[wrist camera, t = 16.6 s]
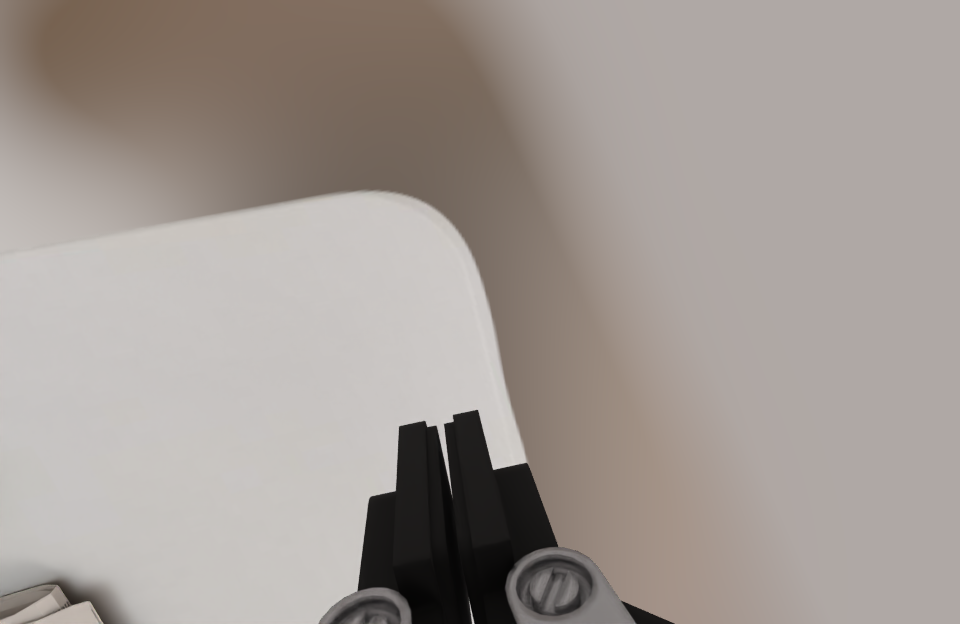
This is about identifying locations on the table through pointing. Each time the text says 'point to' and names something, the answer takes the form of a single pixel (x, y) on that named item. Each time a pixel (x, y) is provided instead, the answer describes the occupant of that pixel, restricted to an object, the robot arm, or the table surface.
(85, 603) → the newspaper
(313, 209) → the table surface
